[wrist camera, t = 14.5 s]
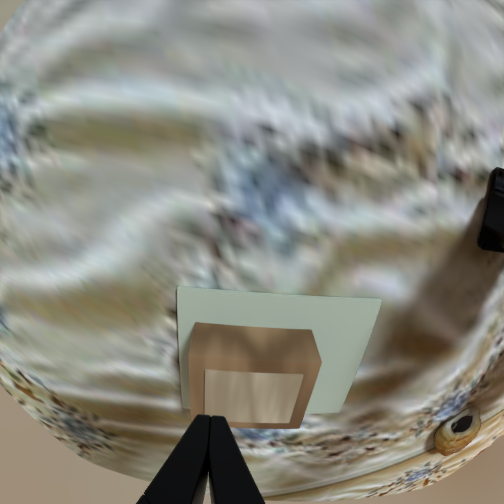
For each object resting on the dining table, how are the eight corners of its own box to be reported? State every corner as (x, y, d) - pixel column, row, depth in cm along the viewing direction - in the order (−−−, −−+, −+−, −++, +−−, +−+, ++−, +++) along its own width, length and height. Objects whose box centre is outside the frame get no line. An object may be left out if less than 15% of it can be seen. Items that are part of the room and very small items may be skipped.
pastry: (467, 433, 31) (477, 450, 28) (429, 453, 32) (437, 472, 29) (476, 400, 28) (489, 420, 24) (432, 424, 29) (444, 446, 25)
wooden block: (322, 364, 18) (188, 357, 17) (299, 430, 20) (190, 425, 20) (311, 329, 21) (195, 321, 21) (293, 396, 24) (195, 390, 23)
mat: (379, 298, 21) (381, 301, 21) (338, 409, 25) (339, 412, 25) (178, 285, 20) (176, 288, 20) (183, 405, 24) (182, 408, 24)
